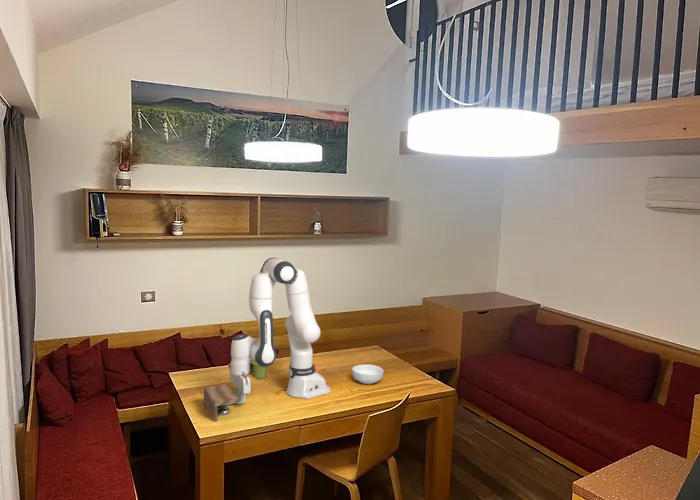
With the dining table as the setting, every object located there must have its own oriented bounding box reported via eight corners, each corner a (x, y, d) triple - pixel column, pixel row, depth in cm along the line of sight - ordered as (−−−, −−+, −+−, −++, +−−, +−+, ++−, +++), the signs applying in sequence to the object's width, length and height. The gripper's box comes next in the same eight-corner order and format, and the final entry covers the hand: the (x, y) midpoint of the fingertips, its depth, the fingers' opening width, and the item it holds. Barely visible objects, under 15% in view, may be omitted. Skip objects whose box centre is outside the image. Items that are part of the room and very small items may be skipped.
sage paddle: (242, 399, 267) (242, 385, 266) (245, 402, 263) (245, 388, 262) (209, 405, 259) (209, 391, 258) (212, 408, 255) (212, 394, 254)
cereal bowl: (387, 379, 302) (388, 367, 302) (375, 389, 287) (376, 376, 287) (359, 374, 309) (359, 362, 309) (346, 383, 294) (346, 370, 294)
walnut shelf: (227, 402, 265) (227, 384, 263) (239, 416, 249) (239, 397, 248) (203, 406, 259) (203, 387, 258) (214, 421, 243) (214, 402, 242)
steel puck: (227, 410, 256) (227, 406, 256) (230, 414, 252) (230, 410, 251) (216, 412, 253) (216, 408, 253) (219, 416, 249) (220, 412, 249)
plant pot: (248, 376, 299) (248, 360, 298) (263, 372, 305) (263, 357, 304) (257, 381, 292) (257, 365, 291) (272, 377, 298) (272, 362, 297)
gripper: (254, 375, 254) (253, 403, 256) (239, 361, 272) (239, 388, 274) (241, 377, 251) (240, 406, 253) (227, 363, 269) (227, 390, 271)
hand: (240, 396), depth 263 cm, fingers closed on sage paddle, 4 cm apart
